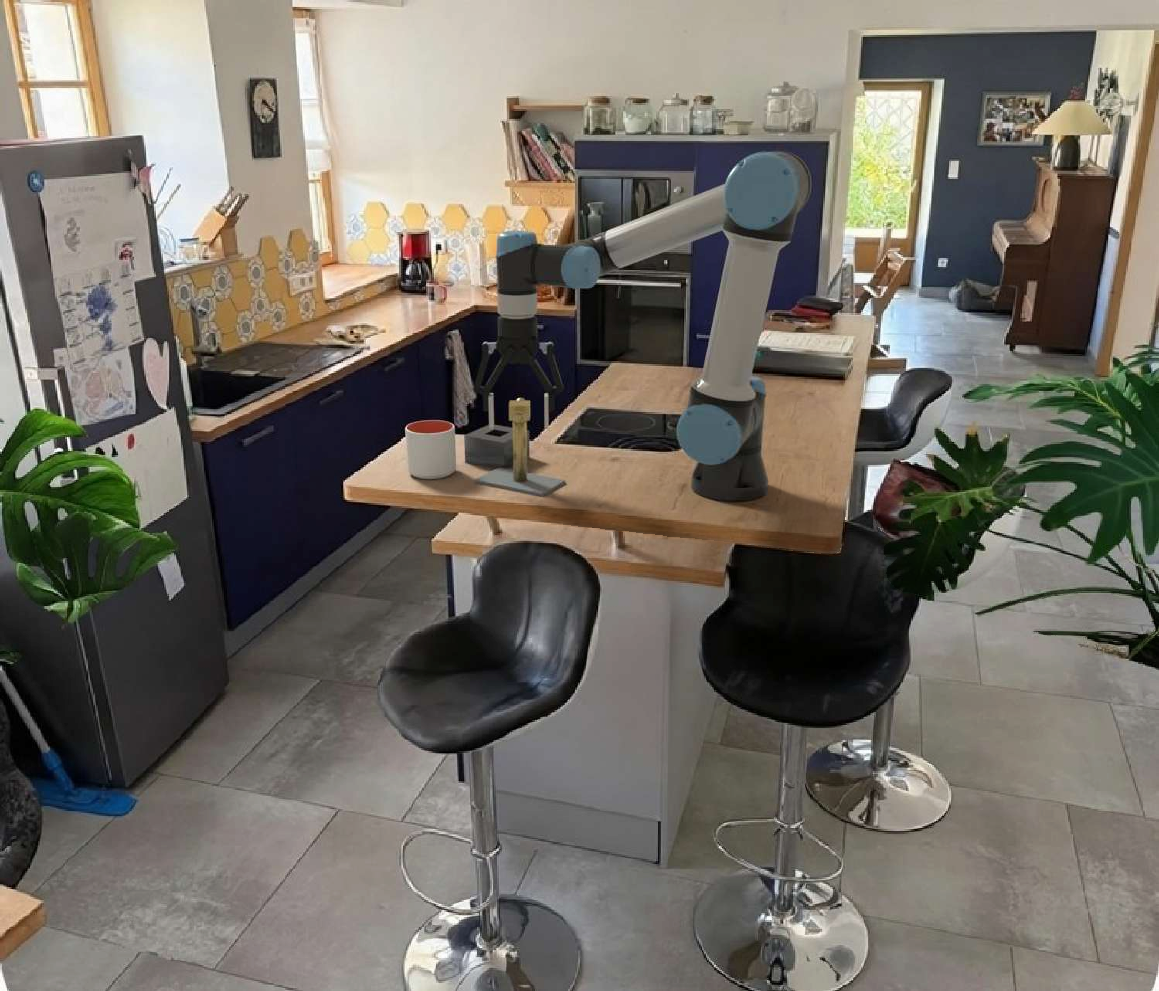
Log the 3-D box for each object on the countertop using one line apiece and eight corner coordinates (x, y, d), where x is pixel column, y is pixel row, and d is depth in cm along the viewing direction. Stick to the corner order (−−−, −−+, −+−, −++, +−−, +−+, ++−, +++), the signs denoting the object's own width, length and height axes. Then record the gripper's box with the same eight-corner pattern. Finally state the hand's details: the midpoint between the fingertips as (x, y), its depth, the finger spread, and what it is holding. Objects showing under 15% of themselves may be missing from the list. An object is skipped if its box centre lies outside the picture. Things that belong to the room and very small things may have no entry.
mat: (565, 482, 206) (565, 480, 206) (542, 496, 199) (542, 493, 199) (499, 469, 214) (499, 467, 213) (474, 482, 206) (474, 479, 206)
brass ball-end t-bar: (529, 491, 200) (528, 412, 194) (508, 490, 200) (507, 412, 194) (531, 469, 212) (530, 394, 207) (511, 469, 212) (510, 394, 207)
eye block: (529, 457, 222) (529, 430, 220) (504, 470, 214) (503, 442, 212) (491, 450, 226) (490, 424, 224) (465, 462, 218) (464, 435, 216)
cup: (447, 482, 206) (445, 435, 203) (400, 479, 208) (397, 432, 205) (462, 467, 215) (460, 421, 212) (417, 463, 217) (415, 418, 214)
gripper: (576, 311, 198) (576, 421, 206) (459, 311, 198) (463, 421, 206) (577, 318, 191) (576, 432, 199) (455, 318, 191) (459, 432, 199)
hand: (519, 426), depth 202 cm, fingers open, 10 cm apart
